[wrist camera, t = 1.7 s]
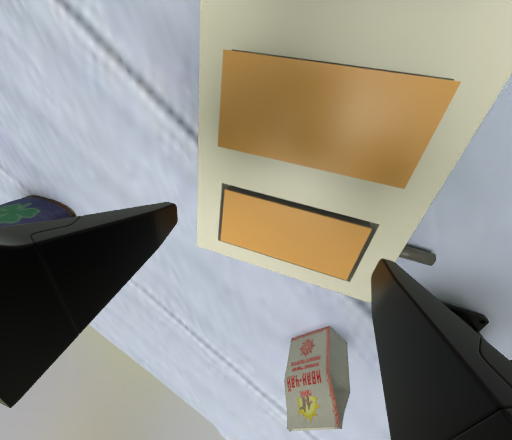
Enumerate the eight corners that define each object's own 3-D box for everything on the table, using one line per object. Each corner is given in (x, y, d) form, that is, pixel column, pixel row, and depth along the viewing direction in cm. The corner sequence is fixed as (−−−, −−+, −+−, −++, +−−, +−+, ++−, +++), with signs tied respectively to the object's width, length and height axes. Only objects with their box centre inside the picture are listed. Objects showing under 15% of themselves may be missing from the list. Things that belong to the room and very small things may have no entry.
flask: (33, 207, 37) (-73, 242, 27) (26, 190, 36) (-89, 221, 26) (79, 223, 35) (-17, 268, 26) (74, 206, 34) (-30, 247, 24)
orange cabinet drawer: (367, 215, 20) (371, 229, 17) (345, 262, 23) (346, 280, 20) (235, 181, 22) (224, 189, 20) (230, 228, 25) (220, 240, 23)
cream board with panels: (782, -243, 8) (1018, -427, 5) (403, 291, 23) (414, 317, 20) (233, -193, 13) (204, -280, 10) (211, 231, 28) (196, 245, 25)
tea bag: (347, 343, 29) (352, 439, 21) (307, 354, 33) (299, 439, 24) (329, 325, 29) (328, 416, 20) (291, 338, 32) (277, 420, 24)
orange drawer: (438, 86, 13) (461, 81, 11) (394, 177, 16) (404, 189, 14) (239, 57, 16) (223, 49, 13) (231, 141, 18) (217, 146, 16)
